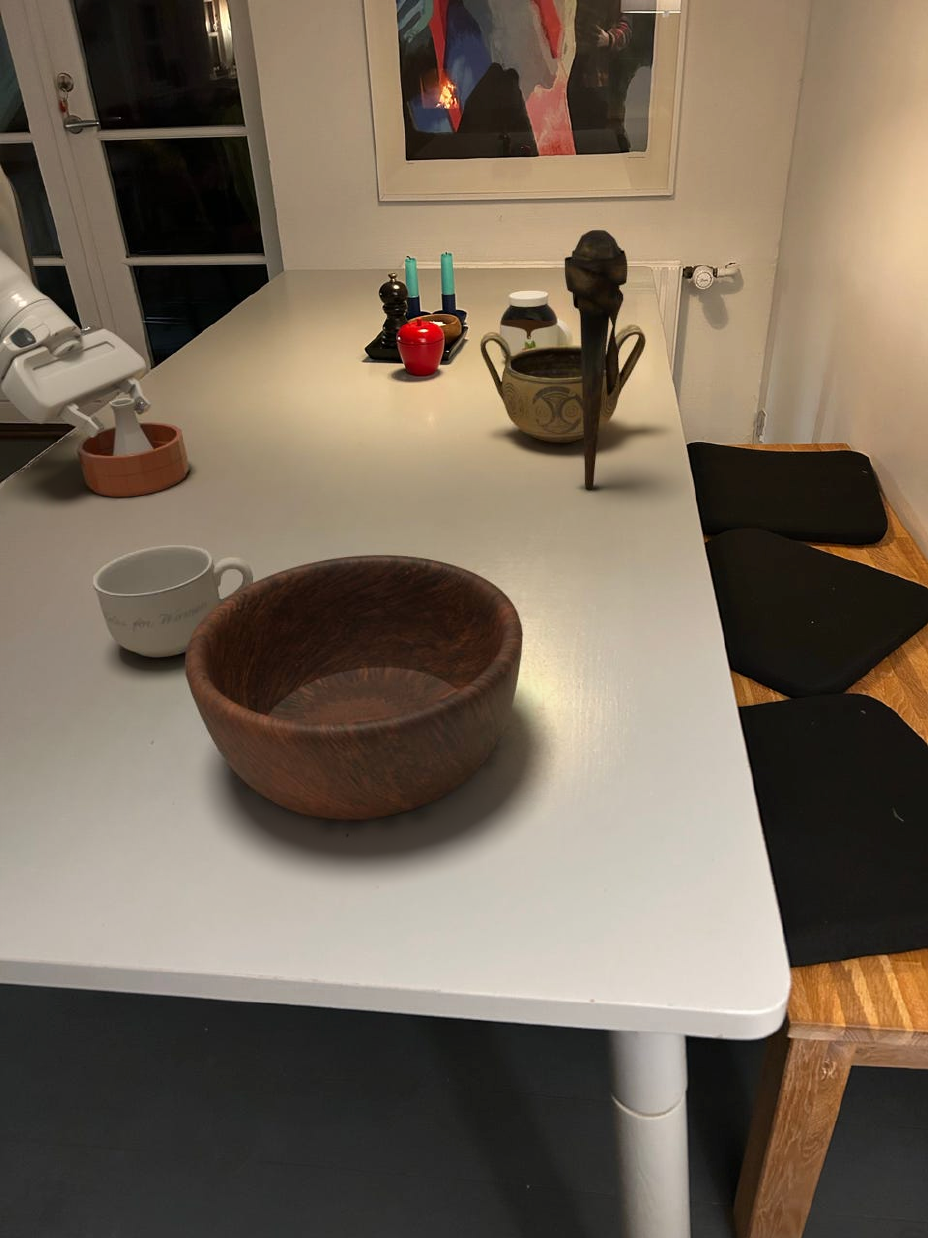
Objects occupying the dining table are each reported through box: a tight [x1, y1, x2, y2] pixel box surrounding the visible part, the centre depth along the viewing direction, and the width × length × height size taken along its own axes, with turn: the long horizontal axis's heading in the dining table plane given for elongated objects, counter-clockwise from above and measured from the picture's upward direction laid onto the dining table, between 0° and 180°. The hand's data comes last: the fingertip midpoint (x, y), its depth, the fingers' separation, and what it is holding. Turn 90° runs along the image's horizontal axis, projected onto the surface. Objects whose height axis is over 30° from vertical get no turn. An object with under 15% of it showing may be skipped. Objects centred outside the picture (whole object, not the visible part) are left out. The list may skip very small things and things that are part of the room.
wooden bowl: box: [184, 554, 524, 821], centre depth 71 cm, size 25×25×10 cm
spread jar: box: [499, 290, 574, 360], centre depth 163 cm, size 12×11×12 cm
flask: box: [108, 397, 153, 456], centre depth 122 cm, size 7×7×10 cm
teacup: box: [92, 544, 254, 658], centre depth 86 cm, size 14×11×8 cm
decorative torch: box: [564, 229, 628, 489], centre depth 107 cm, size 7×7×30 cm
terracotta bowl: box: [76, 422, 190, 498], centre depth 123 cm, size 13×13×6 cm
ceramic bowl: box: [479, 324, 647, 444], centre depth 127 cm, size 22×17×15 cm
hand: (123, 421), depth 120 cm, fingers open, 8 cm apart
